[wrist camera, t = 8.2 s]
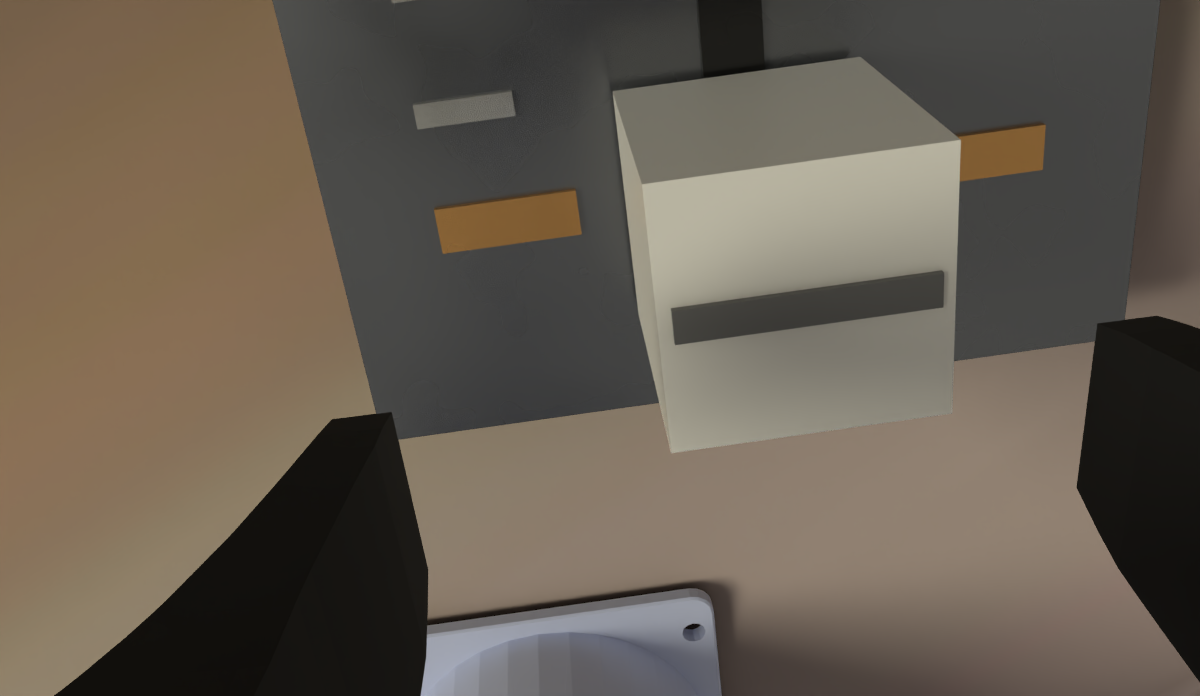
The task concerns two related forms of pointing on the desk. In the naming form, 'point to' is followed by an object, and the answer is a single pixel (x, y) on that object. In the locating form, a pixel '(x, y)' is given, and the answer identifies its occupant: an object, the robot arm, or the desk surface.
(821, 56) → the console panel
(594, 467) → the desk surface
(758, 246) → the fader cap
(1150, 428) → the robot arm
